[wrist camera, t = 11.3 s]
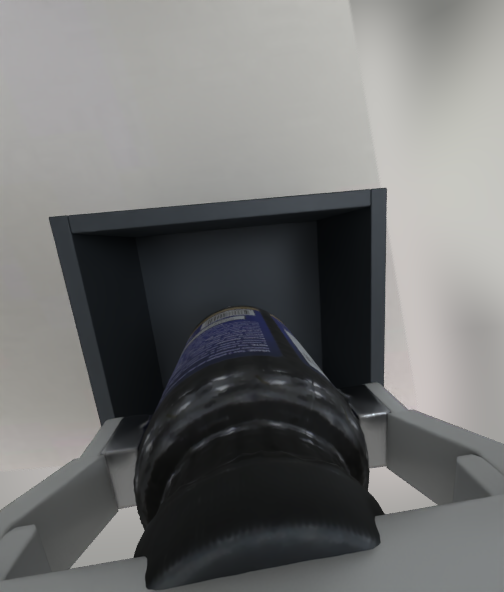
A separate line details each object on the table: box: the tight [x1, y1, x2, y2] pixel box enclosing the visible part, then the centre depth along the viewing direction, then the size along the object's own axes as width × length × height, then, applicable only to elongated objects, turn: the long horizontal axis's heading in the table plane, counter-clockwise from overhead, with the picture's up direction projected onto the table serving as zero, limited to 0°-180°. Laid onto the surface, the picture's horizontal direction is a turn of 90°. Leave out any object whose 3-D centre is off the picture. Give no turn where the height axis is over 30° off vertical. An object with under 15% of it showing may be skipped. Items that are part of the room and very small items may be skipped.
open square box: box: [49, 188, 387, 427], centre depth 18 cm, size 16×16×9 cm
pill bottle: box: [133, 305, 385, 590], centre depth 9 cm, size 6×6×11 cm
